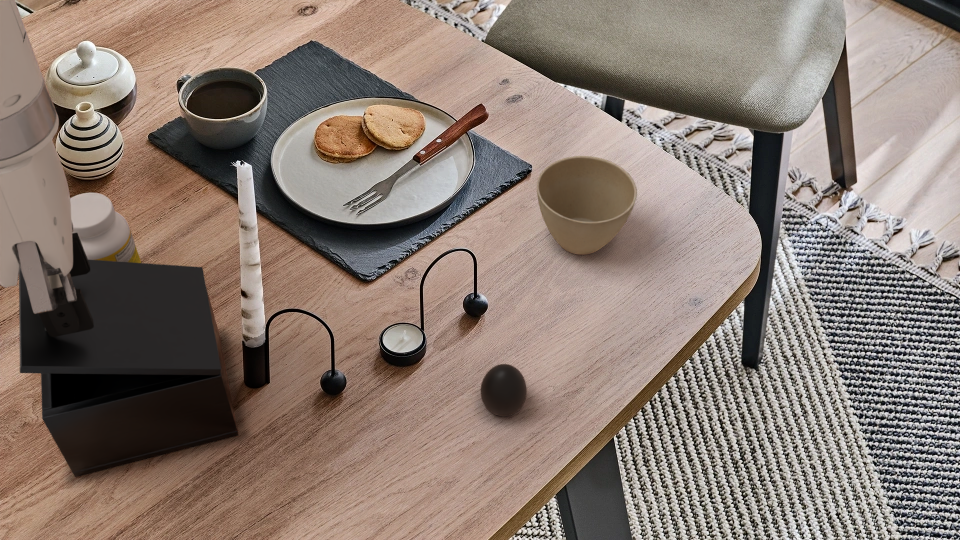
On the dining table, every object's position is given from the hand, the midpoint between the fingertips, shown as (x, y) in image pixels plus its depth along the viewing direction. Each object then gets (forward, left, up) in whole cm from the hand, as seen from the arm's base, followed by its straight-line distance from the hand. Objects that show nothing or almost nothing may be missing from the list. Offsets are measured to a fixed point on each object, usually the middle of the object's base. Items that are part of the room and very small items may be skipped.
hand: (70, 300), depth 72 cm
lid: (+3, +1, -3) cm, 4 cm away
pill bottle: (-6, +13, -15) cm, 21 cm away
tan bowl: (+40, +27, -15) cm, 50 cm away
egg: (+34, +5, -15) cm, 37 cm away
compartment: (+3, +1, -15) cm, 15 cm away
